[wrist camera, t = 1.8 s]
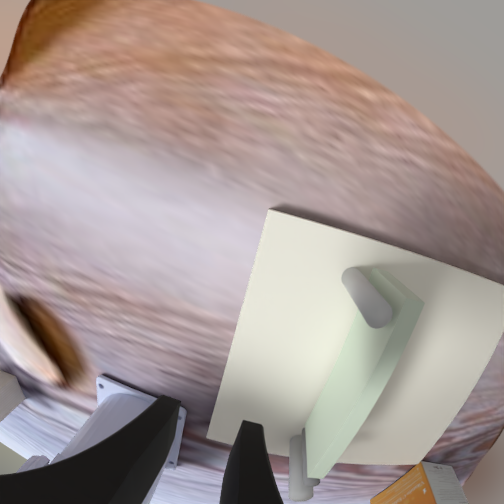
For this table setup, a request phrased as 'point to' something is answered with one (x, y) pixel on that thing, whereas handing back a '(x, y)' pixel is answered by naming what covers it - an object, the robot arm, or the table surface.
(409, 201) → the table surface
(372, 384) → the gate
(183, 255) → the table surface
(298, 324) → the gate frame
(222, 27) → the table surface
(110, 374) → the table surface
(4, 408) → the model
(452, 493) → the small box
